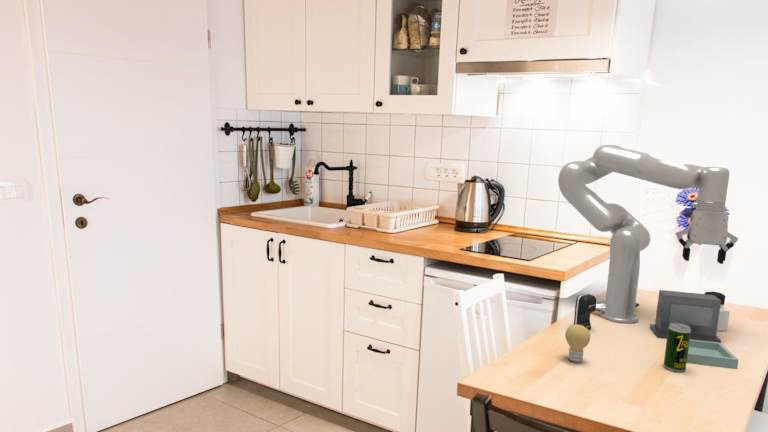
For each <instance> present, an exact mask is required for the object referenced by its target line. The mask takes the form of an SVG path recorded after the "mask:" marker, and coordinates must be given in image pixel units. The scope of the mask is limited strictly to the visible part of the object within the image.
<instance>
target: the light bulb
mask: <svg viewBox="0 0 768 432" xmlns="http://www.w3.org/2000/svg"><path fill="white" fill-rule="evenodd" d="M565 340H566V343H567V344H568V346H569V348H568V359H569V360H570V361H571V362H574V363H580V362H582V361H583V358H584V349H585V348H586V347H588V345H589V344H590V341H591V333H590V331H589V330H588V329H587V328H586V327H584V326H582V325H574V324H572V325H570V326H568V327H567V328H566V330H565Z"/></svg>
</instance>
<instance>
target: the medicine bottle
mask: <svg viewBox="0 0 768 432" xmlns="http://www.w3.org/2000/svg"><path fill="white" fill-rule="evenodd" d="M703 294H707V295H714V296H716V297H717V298H718V299H720V300H721V305H720V312H719V319H718V326H717V331H718V332H726V331H728V325H729V319H730V310H729V309H727V308H725V301H726V295H725V294H724V293H722V292H719V291H713V290H708V291H705V292H704V293H703Z"/></svg>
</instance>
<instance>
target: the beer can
mask: <svg viewBox="0 0 768 432" xmlns="http://www.w3.org/2000/svg"><path fill="white" fill-rule="evenodd" d="M690 335H691V330H690V327H689V326H688V325H685V324H681V323H670V326H669V327H668V335H667V339H666V342H665V350H664V357H663V359H664V360H663V367H664V368H665V369H666V370H668V371H671V372H675V373H684V372H685V371H686V369H687V364H688V363H687V357H688V349H689V342H690Z"/></svg>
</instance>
